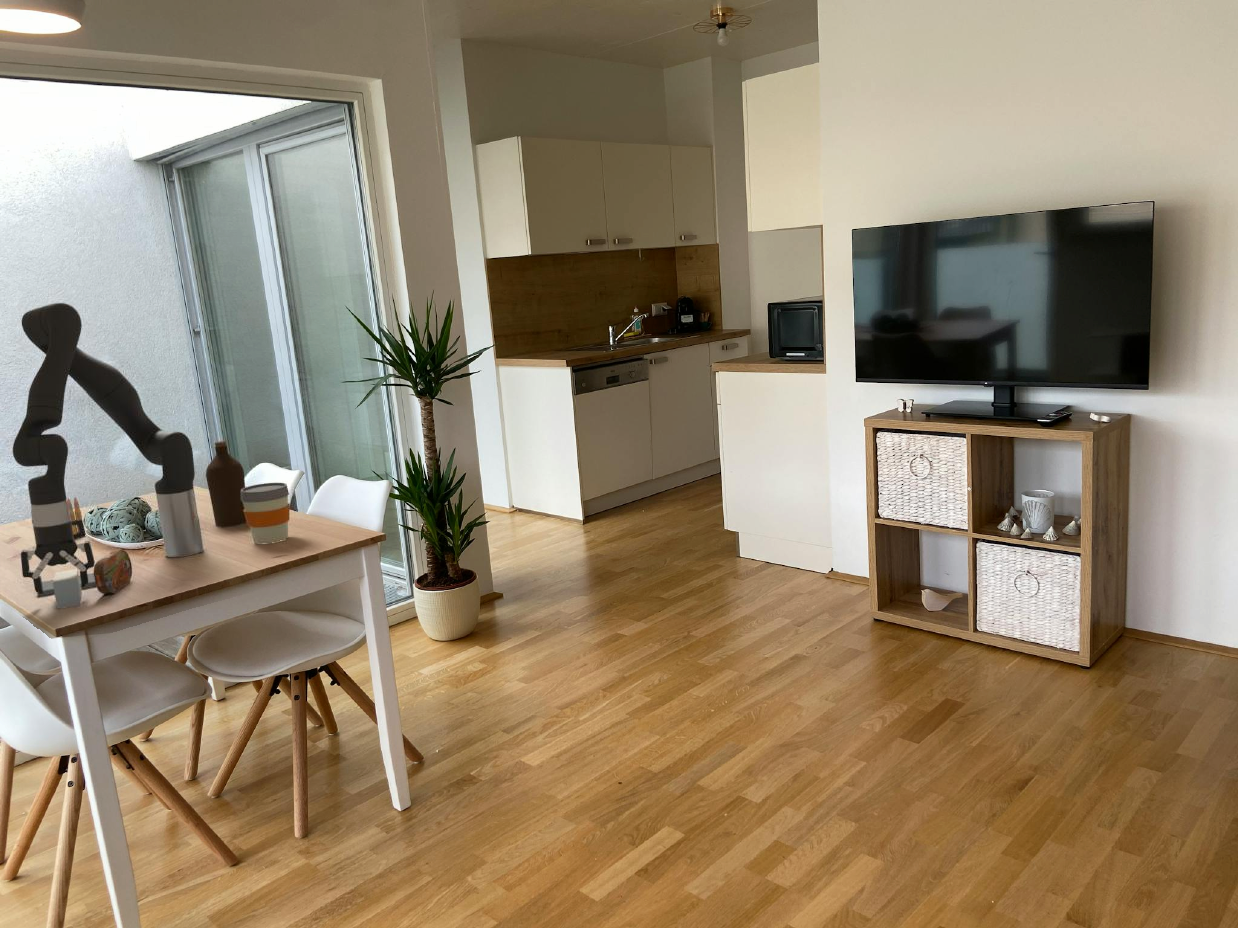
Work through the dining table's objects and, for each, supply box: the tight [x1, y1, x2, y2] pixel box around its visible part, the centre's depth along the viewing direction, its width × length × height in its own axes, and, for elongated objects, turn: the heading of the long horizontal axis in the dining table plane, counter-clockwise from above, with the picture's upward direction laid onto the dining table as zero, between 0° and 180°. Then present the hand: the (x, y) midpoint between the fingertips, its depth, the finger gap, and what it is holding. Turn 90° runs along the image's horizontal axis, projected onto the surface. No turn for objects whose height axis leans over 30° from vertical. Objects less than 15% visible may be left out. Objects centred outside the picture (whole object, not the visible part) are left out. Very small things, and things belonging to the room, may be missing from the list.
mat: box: [36, 572, 97, 598], centre depth 229 cm, size 13×9×1 cm
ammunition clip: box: [66, 497, 87, 539], centre depth 277 cm, size 11×2×12 cm, turn 128°
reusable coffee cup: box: [241, 482, 290, 544], centre depth 261 cm, size 13×13×15 cm
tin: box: [93, 549, 133, 595], centre depth 225 cm, size 15×3×8 cm, turn 6°
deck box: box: [53, 568, 83, 610], centre depth 217 cm, size 5×10×6 cm, turn 28°
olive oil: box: [205, 440, 247, 527], centre depth 284 cm, size 11×11×25 cm
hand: (62, 589), depth 217 cm, fingers open, 8 cm apart
